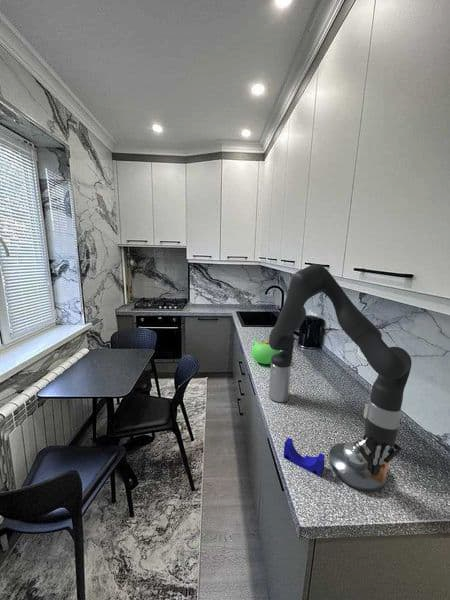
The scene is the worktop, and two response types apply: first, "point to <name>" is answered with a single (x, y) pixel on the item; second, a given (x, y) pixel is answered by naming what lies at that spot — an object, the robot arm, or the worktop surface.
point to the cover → (354, 457)
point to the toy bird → (263, 352)
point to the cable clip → (307, 462)
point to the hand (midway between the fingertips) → (372, 472)
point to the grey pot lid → (356, 472)
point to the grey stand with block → (365, 416)
